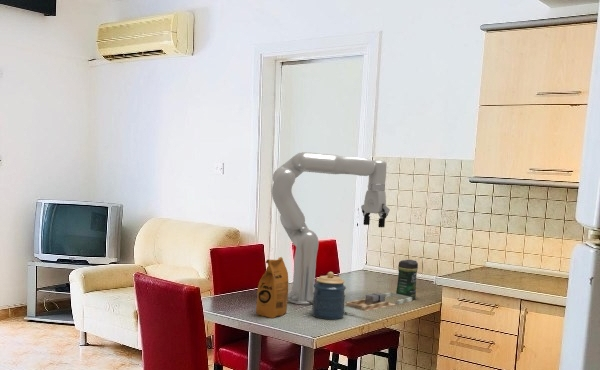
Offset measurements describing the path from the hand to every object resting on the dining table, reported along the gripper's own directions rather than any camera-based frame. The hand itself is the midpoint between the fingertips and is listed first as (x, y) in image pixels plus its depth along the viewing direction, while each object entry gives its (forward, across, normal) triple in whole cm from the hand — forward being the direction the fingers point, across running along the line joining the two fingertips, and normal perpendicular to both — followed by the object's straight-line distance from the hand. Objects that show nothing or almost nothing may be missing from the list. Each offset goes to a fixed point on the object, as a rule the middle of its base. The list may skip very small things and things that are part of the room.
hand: (373, 226), depth 251 cm
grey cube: (+33, +7, -1) cm, 34 cm away
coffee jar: (+35, 0, +24) cm, 42 cm away
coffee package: (+35, +1, -53) cm, 64 cm away
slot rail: (+35, +7, 0) cm, 35 cm away
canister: (+35, +11, -33) cm, 49 cm away
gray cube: (+33, +8, -6) cm, 35 cm away
